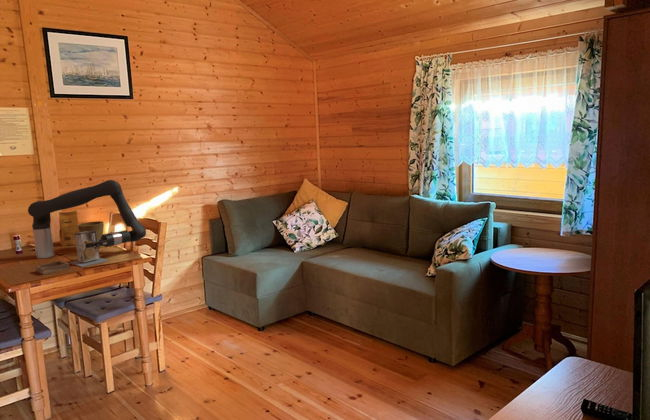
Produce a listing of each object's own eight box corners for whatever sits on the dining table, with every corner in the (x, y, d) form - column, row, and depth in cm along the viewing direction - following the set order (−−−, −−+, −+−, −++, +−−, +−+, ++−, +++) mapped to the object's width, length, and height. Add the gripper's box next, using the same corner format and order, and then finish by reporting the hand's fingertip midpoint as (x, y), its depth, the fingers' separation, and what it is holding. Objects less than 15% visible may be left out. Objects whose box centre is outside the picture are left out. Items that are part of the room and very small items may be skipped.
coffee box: (93, 257, 282) (89, 230, 279) (99, 258, 278) (96, 230, 275) (77, 261, 274) (74, 233, 271) (84, 262, 270) (80, 234, 268)
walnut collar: (36, 271, 260) (35, 266, 260) (61, 266, 270) (61, 260, 269) (43, 274, 254) (42, 269, 253) (69, 268, 264) (69, 263, 263)
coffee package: (60, 244, 327) (56, 211, 323) (81, 241, 332) (77, 209, 329) (60, 246, 318) (56, 213, 314) (81, 244, 324) (77, 211, 320)
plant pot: (100, 244, 321) (97, 220, 318) (110, 247, 310) (107, 222, 308) (76, 249, 310) (73, 224, 308) (85, 252, 300) (82, 226, 297)
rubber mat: (69, 263, 275) (69, 262, 275) (96, 257, 287) (95, 256, 286) (81, 267, 266) (81, 266, 266) (108, 261, 277) (108, 259, 277)
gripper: (105, 231, 289) (76, 237, 277) (117, 234, 280) (87, 240, 268) (106, 244, 290) (77, 250, 278) (118, 247, 281) (89, 253, 269)
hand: (82, 245), depth 273 cm, fingers closed on coffee box, 7 cm apart
